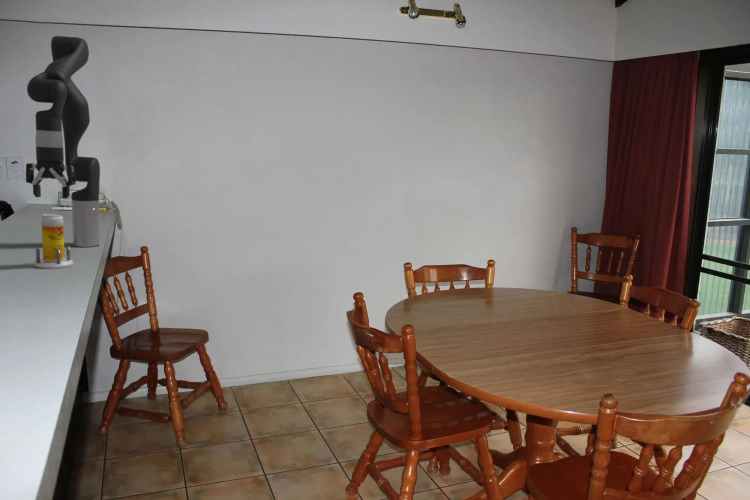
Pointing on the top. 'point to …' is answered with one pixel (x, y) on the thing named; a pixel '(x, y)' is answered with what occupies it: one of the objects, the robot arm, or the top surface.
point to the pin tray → (42, 264)
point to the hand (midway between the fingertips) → (51, 197)
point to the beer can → (52, 237)
